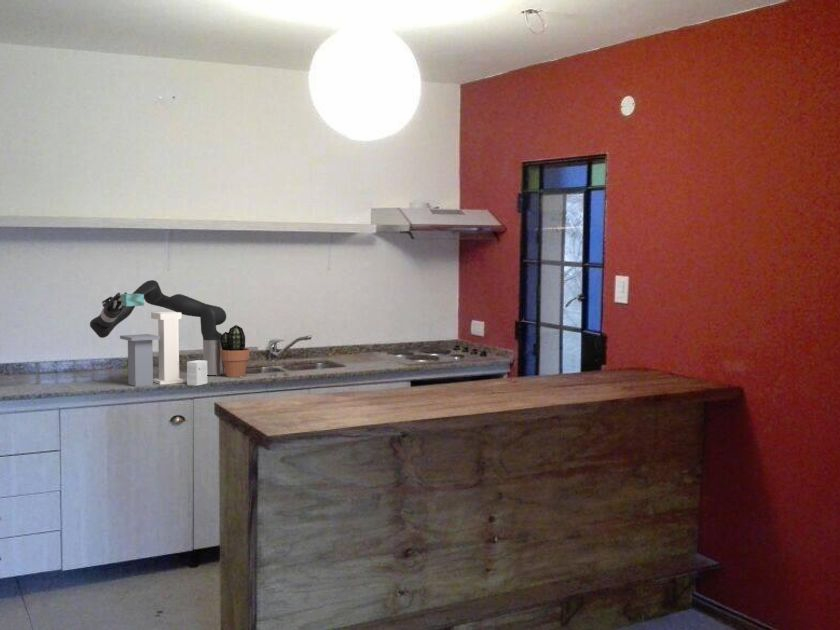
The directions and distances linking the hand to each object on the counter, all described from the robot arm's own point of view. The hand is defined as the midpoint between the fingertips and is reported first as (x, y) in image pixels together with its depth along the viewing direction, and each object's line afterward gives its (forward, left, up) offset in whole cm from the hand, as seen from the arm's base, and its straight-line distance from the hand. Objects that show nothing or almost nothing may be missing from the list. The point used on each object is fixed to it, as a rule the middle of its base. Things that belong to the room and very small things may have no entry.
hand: (122, 294), depth 390 cm
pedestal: (-1, +18, -40) cm, 44 cm away
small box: (-21, +32, -40) cm, 55 cm away
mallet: (0, +4, -4) cm, 6 cm away
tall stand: (-13, +18, -40) cm, 46 cm away
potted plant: (-47, +19, -40) cm, 65 cm away
